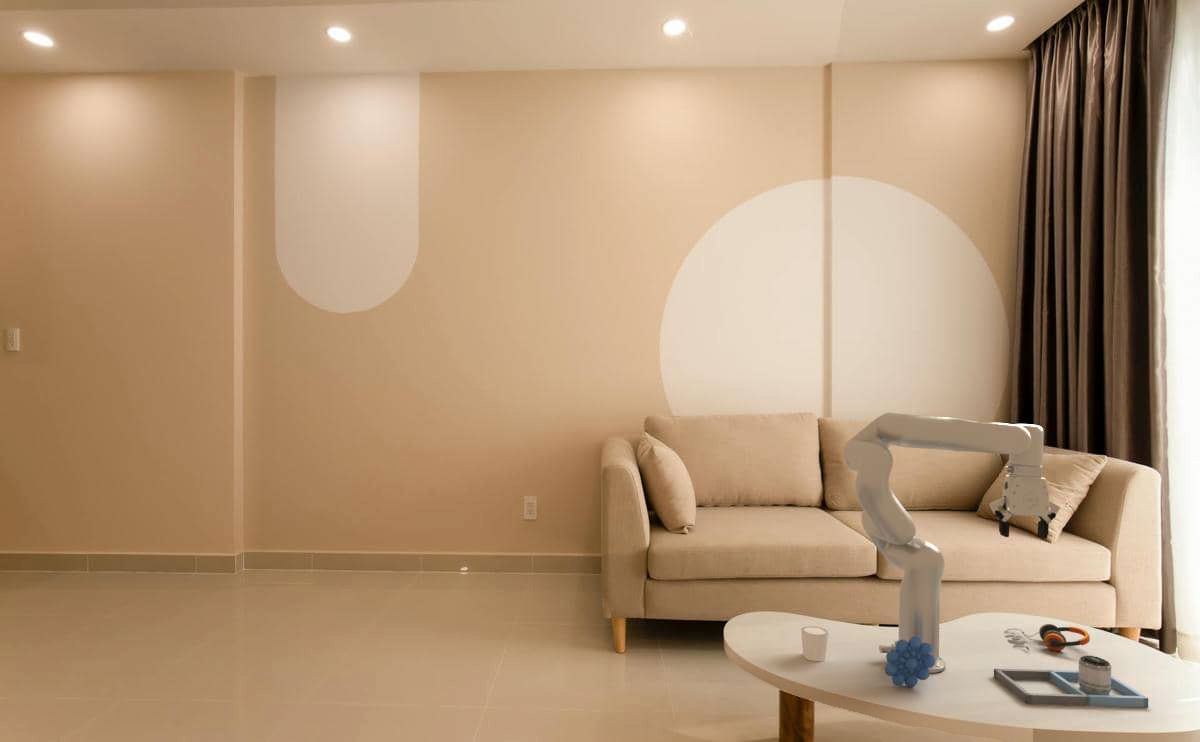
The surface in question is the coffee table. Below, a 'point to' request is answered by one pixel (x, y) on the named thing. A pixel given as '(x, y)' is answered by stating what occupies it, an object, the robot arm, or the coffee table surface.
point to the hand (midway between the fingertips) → (1023, 536)
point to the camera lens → (1094, 675)
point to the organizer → (1067, 689)
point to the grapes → (909, 662)
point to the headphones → (1053, 637)
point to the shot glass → (814, 643)
